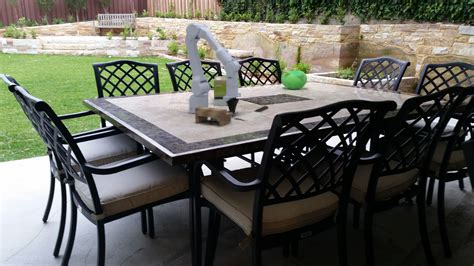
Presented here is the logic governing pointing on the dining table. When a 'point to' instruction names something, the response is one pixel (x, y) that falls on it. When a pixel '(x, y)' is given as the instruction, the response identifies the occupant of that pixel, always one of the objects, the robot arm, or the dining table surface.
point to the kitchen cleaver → (252, 114)
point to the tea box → (219, 91)
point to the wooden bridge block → (212, 115)
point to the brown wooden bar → (218, 118)
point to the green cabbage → (294, 78)
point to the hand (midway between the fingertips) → (232, 113)
